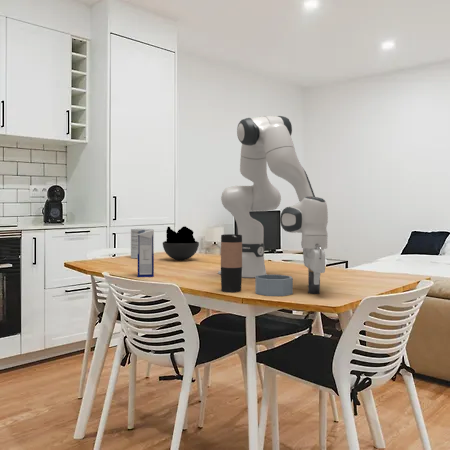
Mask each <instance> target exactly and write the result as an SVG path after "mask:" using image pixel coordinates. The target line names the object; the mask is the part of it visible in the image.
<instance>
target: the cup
mask: <svg viewBox="0 0 450 450" xmlns="http://www.w3.org/2000/svg"><path fill="white" fill-rule="evenodd" d="M254 278H255V279H254V280H255V287H254V289H255V290H254V291H255V294H256V295H261V296H265V297H285V296H290V295H293V294H294V293H293V292H294V291H293V289H294V288H293V284H294V282H293V281H294V279H293V278H294V277H292V276H291V275H284V274H267V275H258V276H255V277H254Z"/></svg>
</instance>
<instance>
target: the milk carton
mask: <svg viewBox="0 0 450 450" xmlns="http://www.w3.org/2000/svg"><path fill="white" fill-rule="evenodd" d="M154 231H155V230H154V229H153V230H149V231H145V230H141V231H138V233H139V234H138V259H137V278H153V277H155V272H154V271H155V270H154V269H155V268H154V267H155V266H154V263H155V262H154V261H155V257H154V255H155V253H154V251H155V250H154V248H155V247H154V246H155V243H154V242H155V241H154V240H155V233H154Z"/></svg>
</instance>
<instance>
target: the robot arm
mask: <svg viewBox="0 0 450 450" xmlns="http://www.w3.org/2000/svg"><path fill="white" fill-rule="evenodd" d="M292 133H293V126H292V122H291V121H290V119H289V118H288V117H286V116H281V115H277V116H275V115H263V116H257V117H246V118H244V119H241V120H240V121H239V123H238V124H237V128H236V135H237V138H238V141H239V142H240V144H241V148H240V161H239V163H240V164H239V172H240V174H241V175H242V177H243V178H245V179H247V180H248V181H250V182H252V183H253V185H234V186H227V187H225V188H224V190H223V192H222V193H221V196H220V197H221V198H220V199H221V200H220V201H221V204H222V206H223V208H225V210H226V211H228V212H229V213H230V214H231V215H232V216H233V218H234V220H235V222H236V226H237V235H242V278H255V276H258V275H268V274H267V271H266V265H265V254H264V253H265V243H264V237H265V236H264V230H265V229H264V225H263V224H262V223H261V222H260V221H259V220H257V219H255V218H253V217H252V216H251V215H250V212H269V211H274V210H277V209H278V208H279V206H280V204H281V201H282V199H281V198H282V197H281V193H280V190H278V188H277V187H276V186H274V185H273V183H271V181H270V179H269V176H268V172H267V169H268V168H269V171H271V173H272V174H274V175H275V176H277V177H278V178H280V179H283V180H285V181H286V182H288V183H289V184H290V185H291V186H292V187H293V188H294V190H295V193H296V195H297V199H298V201H299V202H298V203H295V204H292V205H290V206H287V207H285V208H284V209H282V211H281V213H280V216H279V223H280V226H281V228H282V230H284V231H285V232H286V233H287V232H288V233H292V234H293V233H295V234H296V233H300V234H301V242H300V243H301V248H302V255H303V256H302V257H303V265H304V266H305V268H310V270H312V271H313V272H314V279H313V283H314V284H315V285H318V284H319V279H320V280H321V274H324V273H325V272H326V253H325V249H328V231H327V226H328V222H329V220H328V219H329V216H328V215H329V214H328V205H327V202H326V200H325V199H324V198H323V197H318V196H315V192H314V189H313V187H312V184H311V182H310V179H309V175H308V174H307V172H306V170H305V168H304V167H303V165H302V164H301V162H300V160H299V157H298V156H297V152H296V149H295V145H294V141H293V139H292ZM217 274H218V275H221V270H218V271H217Z"/></svg>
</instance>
